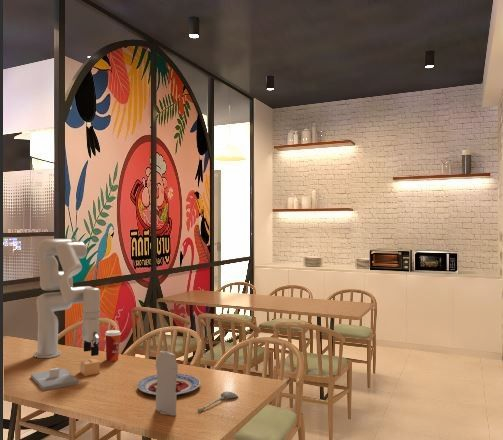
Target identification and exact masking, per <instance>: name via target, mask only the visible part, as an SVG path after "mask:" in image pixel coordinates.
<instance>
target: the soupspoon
mask: <svg viewBox="0 0 503 440" xmlns="http://www.w3.org/2000/svg"><path fill="white" fill-rule="evenodd" d="M238 397H239V396H238V395H237V394H236V393H234V392H231V391H223V392H221V393H220V398H217V399H216V400H214V401H212V402H210V403H208V404H206V405H205V406H203V407H202V408H198V409H197V412H198V413H199V414H200V413H201V414H202V412H203V411H204V410H206V408H208V407H210V406H212V405H214V404H215V403H217V402H220V401H222V400H226V399H232V398H233V399H234V398H238Z"/></svg>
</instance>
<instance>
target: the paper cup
mask: <svg viewBox="0 0 503 440" xmlns="http://www.w3.org/2000/svg"><path fill="white" fill-rule="evenodd" d="M121 334H122V333H121V331H120V330H116V329H110V330H107V331H105V333H104V335H105V357H106V358H105V359H106V361H107V362H116V361H118V360H119V356H120V355H119V352H120V342H121V341H120V340H121Z"/></svg>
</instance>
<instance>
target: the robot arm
mask: <svg viewBox="0 0 503 440" xmlns="http://www.w3.org/2000/svg"><path fill="white" fill-rule="evenodd" d="M37 245H38V246H37V256H38V260H39V269H40V270H39V285H40V288H41V290H43V291H54V292H45V293H42V294H40V295H39V296H37V298H36V302H35V303H36V304H35V305H36V311H37V347H36V352H34V354H33V356H34V357H35V358H36V357H37V359H49V358H51V359H52V358H55V357H58V356H61V354H62V352H61V350H59V349H58V347H59V346H58V344H59V319H58V316H57V315H56V314H55V312H59V311H65V310H66V311H67V310H69V309H70V308H71V307H72V306H73V304H82V327H81V328H82V330H81V339H82V341H83V352H90V356H91V357H94V356H99V349H100V348H99V347H100V322H99V319H100V318H101V290H100V288H98V287H93V286H91V285H85V286H84V285H83V286H74V279H73V277H75V276H76V275H78V274H79V273H81V272H82V270H83V265H82V263H81V260H80V259H84V258H86V256H87V254H88V248H87V245H86V244H85V243H84V242H83V241H80V240H76V239H74V238H45V239H43V240H41V241H40V242H39V243H38V244H37ZM55 256H57V257H58V260H57V258H56V257H55ZM58 261H59V262H58ZM59 264H60V266H61V268H62V270H59ZM57 290H58V291H57ZM55 291H56V292H55Z"/></svg>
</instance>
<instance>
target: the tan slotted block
mask: <svg viewBox="0 0 503 440" xmlns="http://www.w3.org/2000/svg"><path fill="white" fill-rule="evenodd" d="M79 362H80V363H79V364H80V367H79V369H80V370H79V373H80V374H82V375H83V376H85V377H87V376H93V375H97V374H100V371H101V368H100V367H101V364H100V363H101V362H100V361H99V360H98V359H96V358H88V359H82V360H80V361H79Z"/></svg>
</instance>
